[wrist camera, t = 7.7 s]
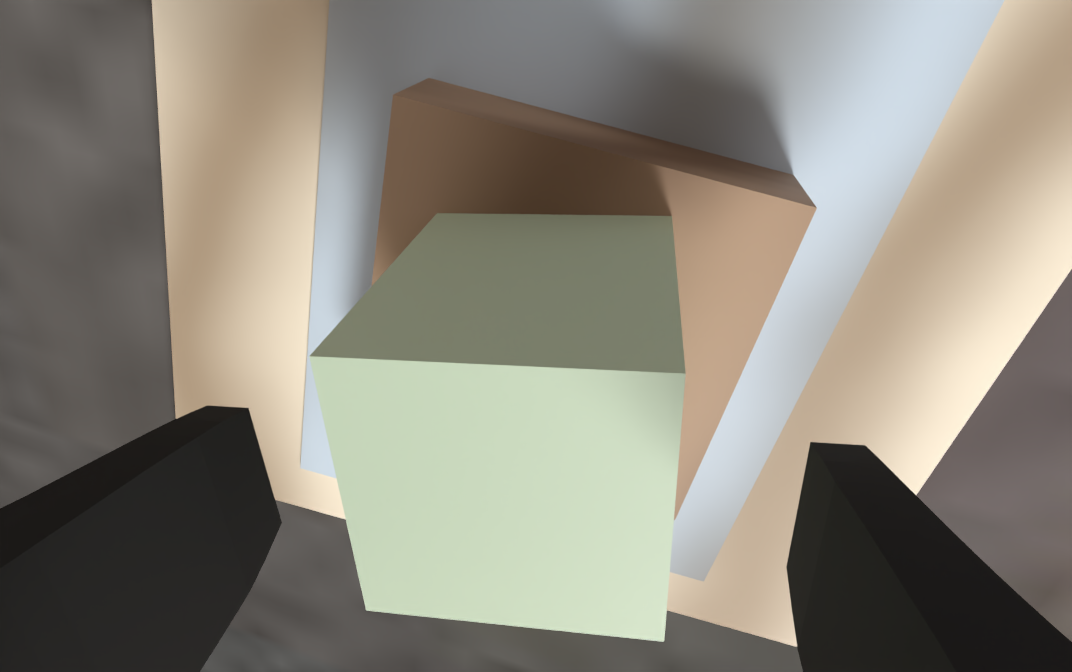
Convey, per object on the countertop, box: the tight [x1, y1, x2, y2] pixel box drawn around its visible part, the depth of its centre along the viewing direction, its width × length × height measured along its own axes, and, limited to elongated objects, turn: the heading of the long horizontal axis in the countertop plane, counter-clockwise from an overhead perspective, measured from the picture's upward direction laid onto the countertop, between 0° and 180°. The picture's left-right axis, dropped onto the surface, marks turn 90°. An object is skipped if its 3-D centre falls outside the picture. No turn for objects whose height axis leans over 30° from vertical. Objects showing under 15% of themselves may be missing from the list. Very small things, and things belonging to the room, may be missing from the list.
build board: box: [152, 0, 1072, 647], centre depth 14 cm, size 18×17×3 cm
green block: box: [309, 213, 686, 642], centre depth 10 cm, size 4×4×5 cm
